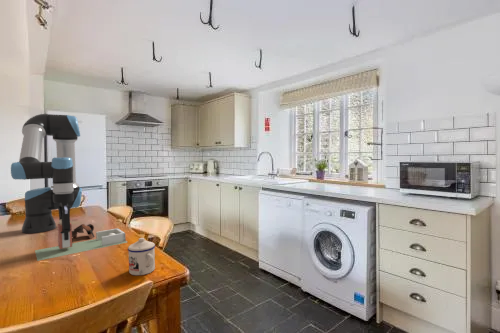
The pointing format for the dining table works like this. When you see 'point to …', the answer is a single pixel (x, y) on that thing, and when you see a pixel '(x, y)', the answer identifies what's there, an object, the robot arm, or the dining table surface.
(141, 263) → the teacup with lid
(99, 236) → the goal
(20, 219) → the dining table surface
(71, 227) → the red tall block
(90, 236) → the pottery mug
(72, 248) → the felt mat
